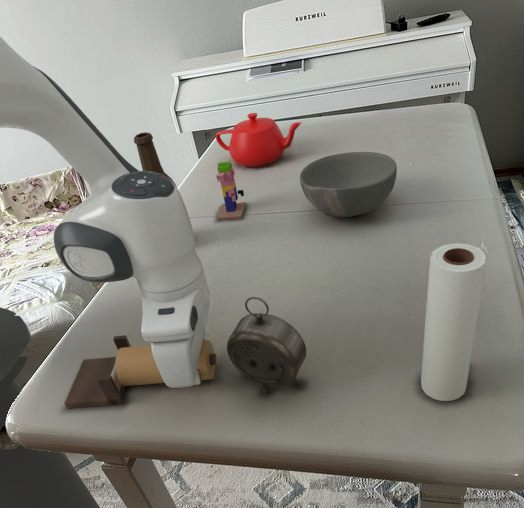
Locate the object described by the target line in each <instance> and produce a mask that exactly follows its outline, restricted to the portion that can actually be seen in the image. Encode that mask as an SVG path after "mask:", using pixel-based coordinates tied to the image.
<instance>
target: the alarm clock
mask: <svg viewBox="0 0 524 508" xmlns="http://www.w3.org/2000/svg"><path fill="white" fill-rule="evenodd" d="M251 300H258V301H259V302H262V304H264V306H265V308H266V312H265V313H264V312H254V313H253V312H252V311H251V310H250V309H249V307H248V303H249V301H251ZM244 307H245V310H246V311H247V313H249V314H246V315H244V316H243V317H242V318H240V319H239V321H238V323H237V325H236V326H235V328H234V329H233V331H232V333H231V334H230V336H228V339H227V343H226V351H227V356H228V358H229V359H230V362H231V363H232V364H233V366H234V367H235V368H236V369H237V370H238V371H239V373H241V374H242V375H244V376H245V377H246V378H248V379H249V380H251V381H253V382H256V383H258V384H260V385H261V387H262V390H261V391H262V394H264V395H266V394H267V392H268V386H271V387H277V386H279V387H280V386H284V385H288V384H289V383H291V382H292V381H293V382H295V383H296V385H297V386H301V385H302V381H300V379H299V378H298V374H299V372H300V370H301V367H302V365H303V364H304V362H305V360H306V357H307V345H306V342H305V340H304V339H303V336H302V335H301V334H300V333H299V331H298V330H297V329H296V328H295V327H294V326H293V325H291V323H289V322H288V321H286V320H284V319H282V318H280V317H278V316H276V315H273V314H269V310H270V306H269V304H268V303H267V302H266V301H265V300H264V299H263V298H261V297H258V296H250V297H248V298H246V300H245V302H244Z"/></svg>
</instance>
